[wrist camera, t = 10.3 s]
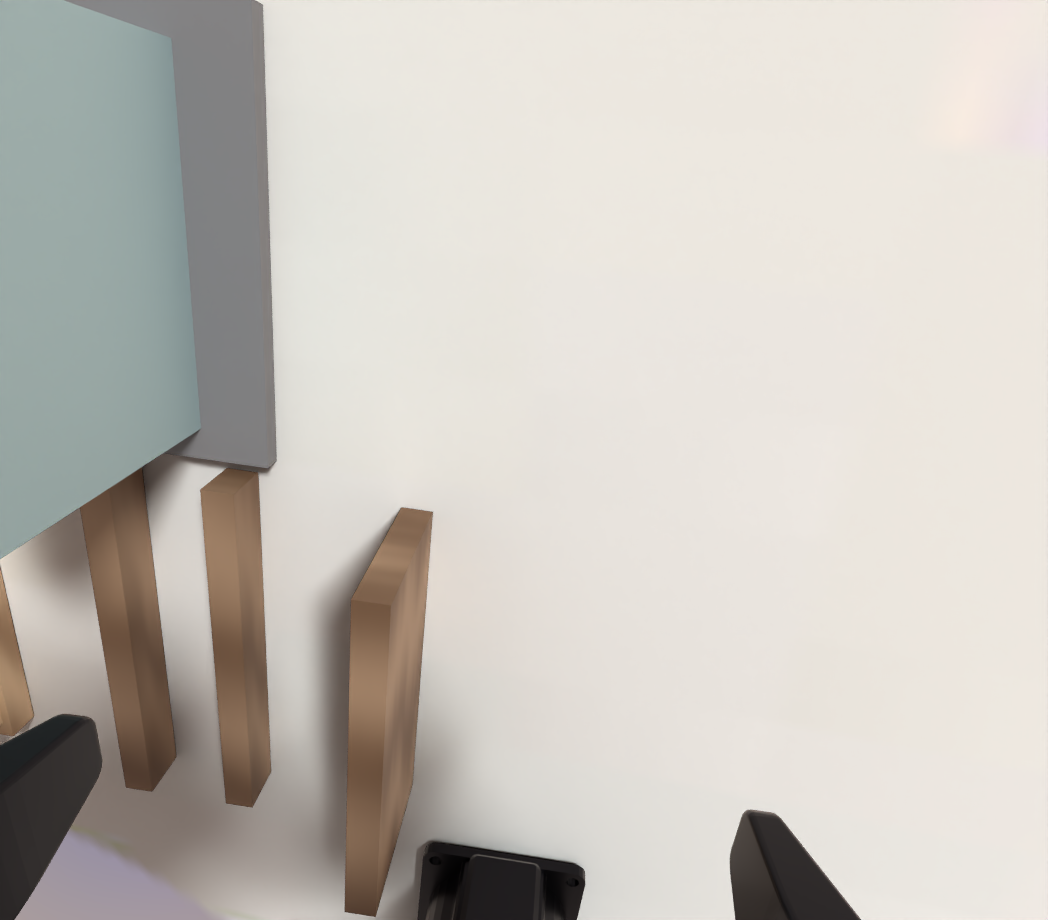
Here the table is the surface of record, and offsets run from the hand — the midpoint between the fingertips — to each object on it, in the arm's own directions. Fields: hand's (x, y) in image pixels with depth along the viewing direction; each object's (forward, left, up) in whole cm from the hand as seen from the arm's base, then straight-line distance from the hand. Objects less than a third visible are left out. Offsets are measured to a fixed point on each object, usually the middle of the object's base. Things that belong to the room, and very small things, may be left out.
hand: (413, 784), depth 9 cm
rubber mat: (+5, +10, -12) cm, 16 cm away
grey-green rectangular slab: (+5, +10, -11) cm, 16 cm away
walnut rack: (-8, +7, -12) cm, 16 cm away
